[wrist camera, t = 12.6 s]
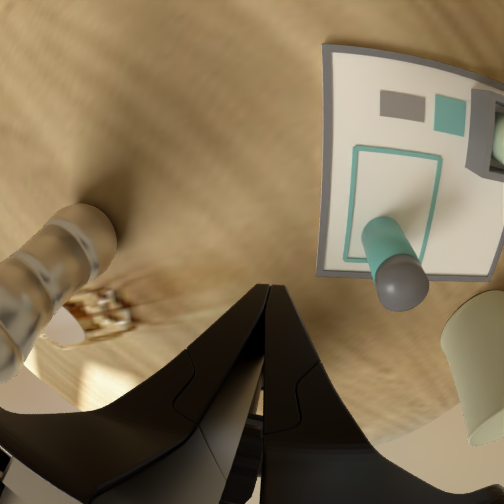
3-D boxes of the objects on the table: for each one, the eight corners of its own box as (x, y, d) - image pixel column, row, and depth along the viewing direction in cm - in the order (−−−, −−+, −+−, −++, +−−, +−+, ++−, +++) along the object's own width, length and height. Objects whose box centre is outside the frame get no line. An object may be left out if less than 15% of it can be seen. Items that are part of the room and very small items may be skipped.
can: (500, 343, 23) (532, 427, 13) (434, 363, 26) (455, 460, 15) (520, 280, 19) (576, 371, 9) (446, 301, 21) (490, 415, 11)
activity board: (486, 276, 19) (500, 297, 17) (315, 270, 22) (316, 295, 20) (522, 94, 11) (546, 98, 9) (321, 45, 14) (324, 36, 11)
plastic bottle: (118, 271, 26) (-7, 445, 9) (66, 237, 25) (-69, 379, 8) (133, 217, 22) (-44, 418, 6) (74, 182, 22) (-107, 328, 5)
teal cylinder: (397, 255, 20) (421, 312, 14) (358, 253, 20) (372, 312, 15) (404, 218, 18) (436, 268, 13) (364, 215, 19) (384, 265, 13)
